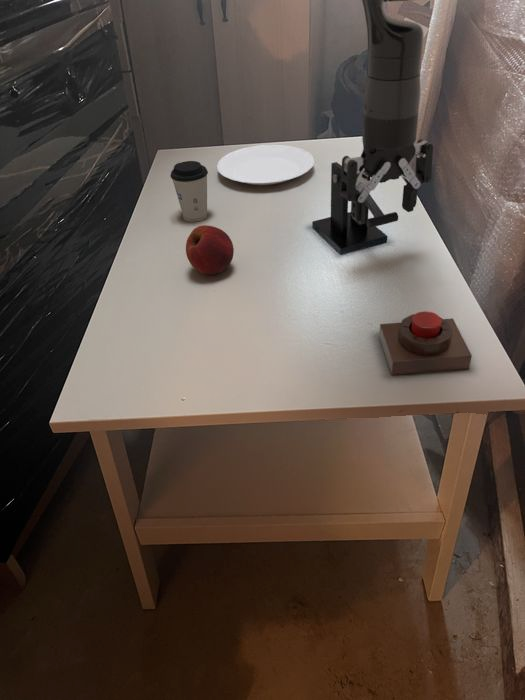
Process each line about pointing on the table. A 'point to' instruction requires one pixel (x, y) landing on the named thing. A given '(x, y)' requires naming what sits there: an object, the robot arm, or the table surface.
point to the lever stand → (345, 222)
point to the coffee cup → (191, 189)
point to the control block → (423, 348)
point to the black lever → (377, 213)
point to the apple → (209, 249)
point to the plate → (265, 164)
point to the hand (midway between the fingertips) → (383, 215)
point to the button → (426, 325)
